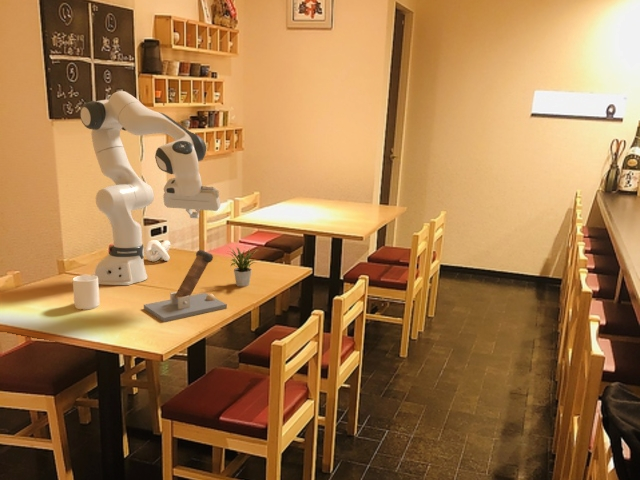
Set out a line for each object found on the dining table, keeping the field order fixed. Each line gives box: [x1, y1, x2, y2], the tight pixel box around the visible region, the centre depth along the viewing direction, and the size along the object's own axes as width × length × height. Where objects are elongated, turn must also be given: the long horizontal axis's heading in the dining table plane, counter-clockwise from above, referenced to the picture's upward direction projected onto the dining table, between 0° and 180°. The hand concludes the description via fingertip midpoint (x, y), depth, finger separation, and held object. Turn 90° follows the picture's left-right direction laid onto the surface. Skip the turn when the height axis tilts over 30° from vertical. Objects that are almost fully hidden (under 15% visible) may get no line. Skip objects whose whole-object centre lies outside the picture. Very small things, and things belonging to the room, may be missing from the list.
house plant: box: [225, 245, 258, 287], centre depth 239 cm, size 14×14×16 cm
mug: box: [72, 274, 100, 311], centre depth 212 cm, size 12×8×10 cm
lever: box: [175, 249, 214, 299], centre depth 211 cm, size 3×6×19 cm
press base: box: [143, 291, 228, 323], centre depth 211 cm, size 24×16×6 cm, turn 129°
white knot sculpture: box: [144, 239, 171, 263], centre depth 274 cm, size 11×12×9 cm
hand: (194, 217), depth 220 cm, fingers closed
